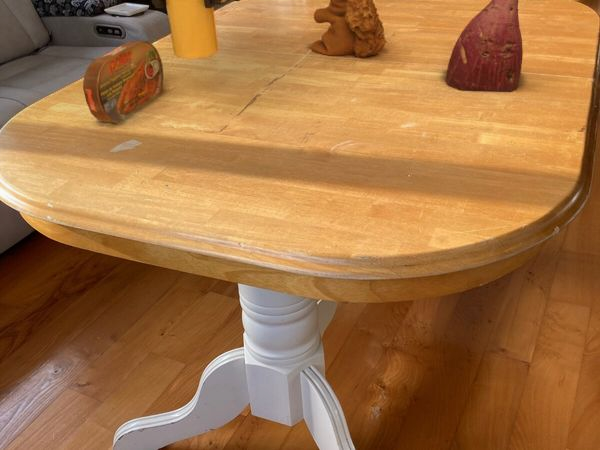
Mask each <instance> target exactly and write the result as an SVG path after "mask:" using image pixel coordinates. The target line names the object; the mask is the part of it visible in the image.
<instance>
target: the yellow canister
mask: <svg viewBox="0 0 600 450" xmlns="http://www.w3.org/2000/svg"><path fill="white" fill-rule="evenodd" d="M165 1H166V5H165V6H166V12H167V17H168V23H169V24H168V25H169V30H170V37H171V44H172V49H173V54H174V55H175V57H177V58H181V59H186V60H187V59H190V60H191V59H192V60H193V59H202V58H207V57H210V56H213V55H215V54H216V53H218V52H219V43H218V34H217V27H216V20H215V19H216V18H215V11H214V9H215V8H214V7H213V8H205V4H204V0H165Z"/></svg>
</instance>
